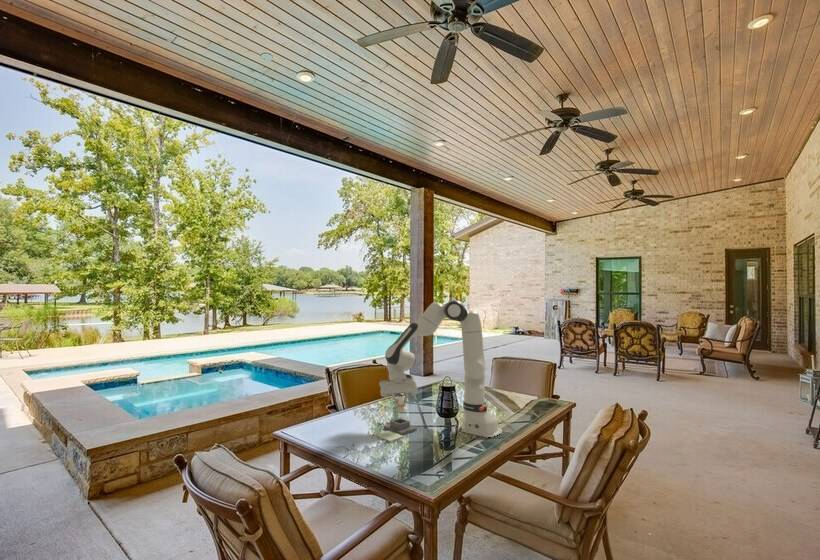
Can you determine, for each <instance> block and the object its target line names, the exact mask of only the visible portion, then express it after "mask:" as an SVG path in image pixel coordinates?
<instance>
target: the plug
mask: <svg viewBox="0 0 820 560" xmlns="http://www.w3.org/2000/svg"><path fill="white" fill-rule="evenodd" d="M404 398H405V395H404V393H398V394H397V396H396V399H398V403H396V407H397V409H396V411H397V412H398V413H404V411H405V406H406V405H405V403H406V402H404Z"/></svg>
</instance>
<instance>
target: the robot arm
mask: <svg viewBox="0 0 820 560" xmlns="http://www.w3.org/2000/svg"><path fill="white" fill-rule="evenodd" d="M445 319H450V320H451V321H456V322H459V323H460V326H461V327H460V328H461V337H462V338H461V340H462V350H463V351H462V352H463V353H462V355H463V368H464V383H463V384H464V386H463V387H464V389H463V391H464V393H463V402H462V403H463V405H462V408H463V412H462V413H463V414H462V415H463V416H462V421H461V425H460V429H461V430H462V432H463V433H465V434H469V435H470V434H471V435H475V436H477V437H482V436H483V437H482V438H488V437H491V438H495V437H498V436H500V435H501V434H503V430H502V429H501V428H499V425H498V420H497V419H496V418H495V416H493V414H491V412H490V411H488V408H489V407H490V406H489V404H486V402H485V400H486V399H485V392H486V391H485V390H486V389H485V387H486V383H485V381H486V380H485V379H486V378H485V376H486V375H485V374H486V363H485V362H486V361H485V349H484V338H483V327H482V321H481V318H480V315H479V313H478V312H476V311H475V310H467V309H466V307H465V305H464V303H463V302H462V301H460V300H457V299H451V300H449V301H448V302H446V303H444V304H442V303H440V302H437V301H434V302H431V303H430V304H429V306H427V308H426V310H425V311H423V313H422V315H421V317H419V318H418V319H417V320H416V321H415V322H413V323H411V324H409V325H408V327H407V328H406V329H405V330H404V331H403V332H402V333H401V334H400V336H399V337H397V339H396V340H395V341H394V343H392V344H391V345H390V346H389V347H388V348H387V350H386V351H385V355H384V356H385V361H386V366H387V371H388V379H386V380H384V379H383V380H380V381H379V383H378V385H379V387H380V396H381V397H383V398H385V397H391V399H392V400H393V401H394V403H395V404H397V403H398V399H397V394H398V393H404V403H408V396H415V395H417V394H418V390H419V389H418V385H417V383H416V381H415V380H414V376H413V375H412V374H408V373H405V372H407V371H409V370H410V369H412V368H413V367H414V366H415V365H416V361H417V359H416V355H415V353H413V352H411V351H408V350H406V349H404V348H405V347H406V345H408V343H410V341H411V339H413V338H415V337H419V336H420V337H421V336H422V337H428V336H432V335H433V334H435V332H436V331H437V329H438V328H439V327H440V324H441V323H442V322H443V320H445ZM499 434H500V435H499ZM497 435H498V436H497ZM494 436H495V437H494ZM488 439H489V438H488Z"/></svg>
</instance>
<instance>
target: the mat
mask: <svg viewBox="0 0 820 560" xmlns="http://www.w3.org/2000/svg"><path fill="white" fill-rule="evenodd" d="M375 437H377V438H379V439H382V440H384V441H386V442H389V443H392V442H395V441H398V440H401V439H404V438H405V435H403V436H402V435H400V434H397V433H395V432H392V431H389V430H385V431H383V432H379V433H376V434H375Z"/></svg>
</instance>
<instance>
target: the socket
mask: <svg viewBox="0 0 820 560" xmlns="http://www.w3.org/2000/svg"><path fill="white" fill-rule="evenodd" d="M410 423H411V421H410V420H407V419H405V418H402V417H399V418H395V419H392V420H390V423H388V424H385V425H383V430H385V431H388V430H389V431H392V432H395V433H397V434H400V435H402V436H405V435H408V434H411V433H414V432H417V427H416V426H413V425H411V424H410Z"/></svg>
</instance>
